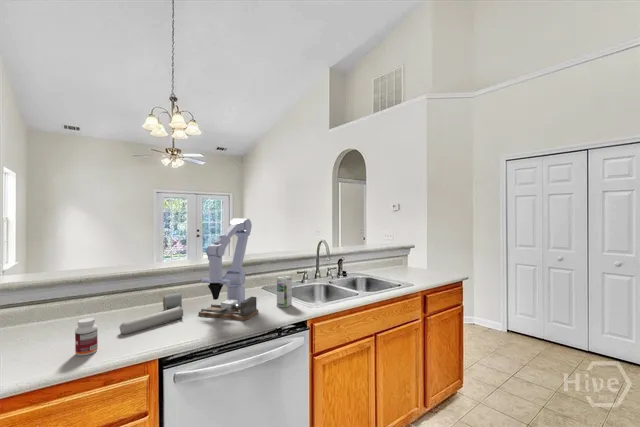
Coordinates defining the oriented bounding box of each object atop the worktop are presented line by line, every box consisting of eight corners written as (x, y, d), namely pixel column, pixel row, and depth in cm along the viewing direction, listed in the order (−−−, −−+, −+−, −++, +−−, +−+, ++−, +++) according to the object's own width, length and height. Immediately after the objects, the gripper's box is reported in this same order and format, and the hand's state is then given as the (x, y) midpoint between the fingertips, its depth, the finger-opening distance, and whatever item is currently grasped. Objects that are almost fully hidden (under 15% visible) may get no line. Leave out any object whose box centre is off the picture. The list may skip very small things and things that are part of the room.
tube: (124, 327, 126) (184, 310, 146) (117, 320, 129) (177, 304, 149) (122, 339, 127) (182, 320, 147) (116, 332, 130) (175, 314, 150)
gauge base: (198, 315, 151) (198, 299, 151) (214, 308, 162) (214, 292, 162) (245, 320, 144) (245, 303, 144) (258, 312, 155) (258, 296, 155)
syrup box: (276, 306, 165) (276, 277, 165) (282, 303, 170) (282, 275, 170) (285, 307, 163) (285, 278, 162) (292, 304, 168) (292, 276, 168)
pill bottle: (77, 350, 114) (76, 318, 113) (98, 347, 116) (98, 315, 116) (73, 357, 108) (73, 324, 108) (96, 354, 111) (96, 321, 111)
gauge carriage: (217, 313, 148) (217, 304, 148) (228, 307, 157) (228, 299, 157) (232, 315, 146) (232, 306, 146) (243, 309, 154) (243, 300, 154)
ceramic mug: (163, 308, 162) (163, 292, 162) (181, 306, 165) (181, 291, 165) (162, 315, 152) (162, 298, 152) (181, 312, 156) (181, 296, 155)
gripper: (196, 270, 153) (197, 300, 154) (224, 272, 149) (224, 302, 149) (206, 268, 160) (206, 296, 160) (232, 269, 156) (233, 298, 156)
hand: (215, 299), depth 155 cm, fingers closed
